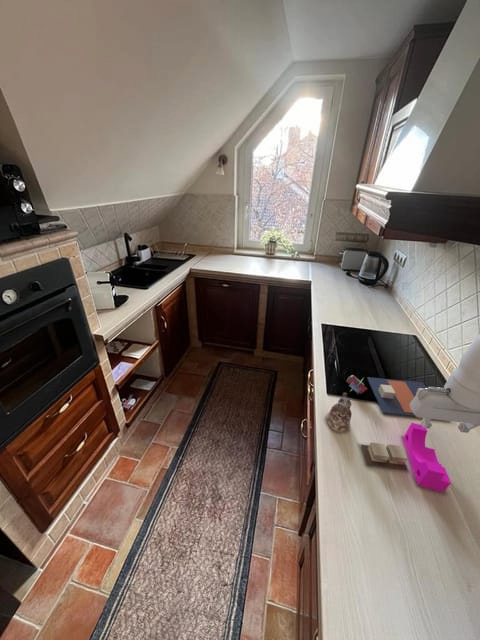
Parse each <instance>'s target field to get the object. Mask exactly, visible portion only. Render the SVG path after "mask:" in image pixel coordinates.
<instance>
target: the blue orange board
mask: <svg viewBox="0 0 480 640" xmlns="http://www.w3.org/2000/svg"><path fill="white" fill-rule="evenodd" d="M366 380H367V382H368V384H369V387H370V389H371V391H372V394H373V395H374V398H375V401H376V402H377V404H378V406H379V409H380V412H381V413H382V414H383V415H391V416H392V415H393V416H400V417H401V416H403V417H411V418H417V417H416V416H415V415H414V413H413V412H412V410H411V408H410V403H411V401H412V400H413V398H414V397H415V396H416V395H417V393H418V392H419V391H420V390H421V389H425V388H427V386H426V384H425V383H424V382H423V381H414V380H413V381H412V380H402V379H393V378H392V379H391V378H381V377H380V378H379V377H372V376H371V377H370V376H368V377H366Z"/></svg>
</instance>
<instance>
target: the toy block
mask: <svg viewBox="0 0 480 640" xmlns="http://www.w3.org/2000/svg"><path fill="white" fill-rule="evenodd" d="M427 434H428V428H423V427H422V425H421V423H415V422H411V423H410V425H409V426H408V428H407V430H406V432H405V434H404V435H403V437H402V439H403V442H404V446H405V448H406V452H407V454H408V455H407V456H408V458H409V461H410V465H411V468H412V471H413V474H414V478H415V481H416V484H417V486H420V487H424V488H427V489H430V490H434V491H438V492H442V493H444V492H445V491H446V490H447V489H448V488H449V486H451V484H452V482H451V480H450V477H449V475H448V472H447V470H446V468H445V467H444V466H442V463H440V461H439V460H438V457H437V454H436V449H435V448H430V447H426V437H427Z"/></svg>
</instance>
